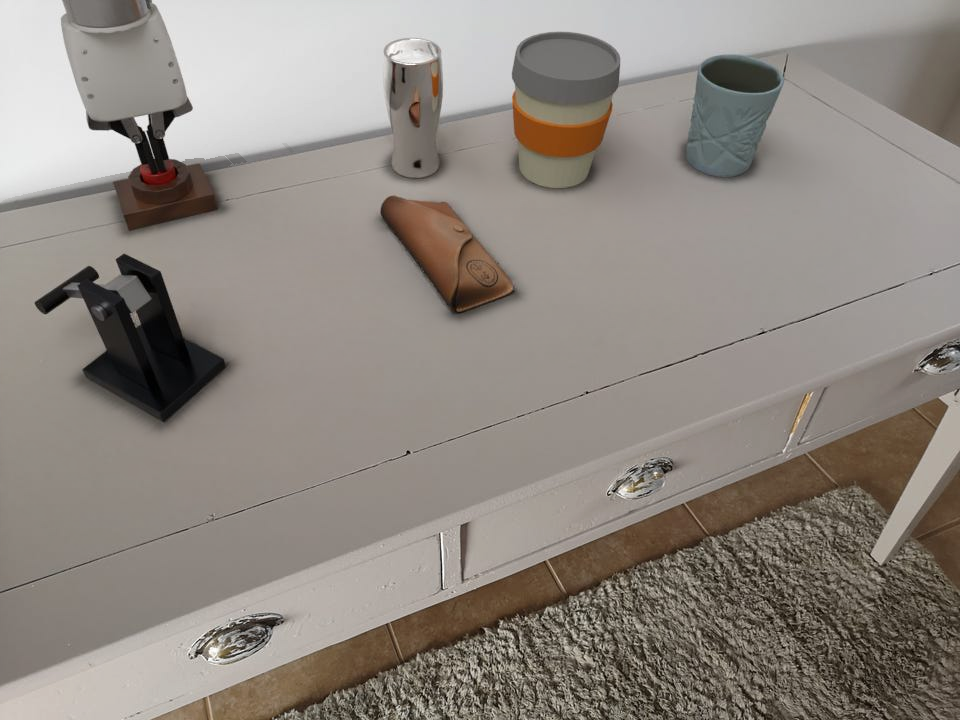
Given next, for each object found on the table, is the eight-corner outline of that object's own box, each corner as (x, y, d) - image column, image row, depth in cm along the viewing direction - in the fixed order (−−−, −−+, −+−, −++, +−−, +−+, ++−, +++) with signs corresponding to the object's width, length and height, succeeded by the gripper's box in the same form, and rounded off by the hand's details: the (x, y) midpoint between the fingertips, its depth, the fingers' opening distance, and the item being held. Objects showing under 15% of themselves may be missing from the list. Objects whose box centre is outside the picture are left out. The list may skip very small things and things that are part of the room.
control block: (129, 230, 88) (118, 201, 85) (118, 197, 92) (107, 168, 89) (217, 209, 91) (210, 180, 88) (203, 178, 95) (196, 149, 92)
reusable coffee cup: (552, 209, 94) (567, 93, 83) (485, 162, 100) (490, 48, 89) (623, 173, 99) (645, 60, 88) (555, 131, 106) (568, 21, 95)
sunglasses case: (521, 287, 83) (496, 255, 77) (471, 330, 83) (443, 300, 78) (443, 198, 93) (416, 164, 88) (399, 236, 94) (369, 204, 88)
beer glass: (453, 170, 98) (454, 55, 88) (405, 186, 96) (401, 70, 85) (424, 144, 102) (422, 31, 91) (378, 159, 99) (370, 45, 88)
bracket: (85, 377, 73) (38, 283, 64) (150, 327, 78) (114, 232, 69) (163, 422, 70) (124, 329, 61) (226, 366, 74) (198, 273, 66)
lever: (44, 318, 71) (28, 297, 70) (96, 282, 75) (82, 261, 74) (114, 327, 64) (97, 303, 63) (168, 286, 68) (154, 263, 67)
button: (147, 191, 87) (143, 178, 86) (141, 175, 90) (137, 161, 88) (179, 184, 89) (176, 171, 87) (173, 168, 91) (169, 155, 90)
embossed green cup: (768, 177, 100) (799, 90, 91) (695, 184, 98) (720, 96, 90) (734, 135, 107) (760, 50, 98) (665, 141, 105) (686, 56, 96)
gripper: (177, -24, 79) (215, 136, 93) (17, -3, 74) (81, 164, 88) (194, 5, 75) (231, 169, 88) (25, 30, 70) (91, 200, 83)
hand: (156, 166), depth 88 cm, fingers closed
